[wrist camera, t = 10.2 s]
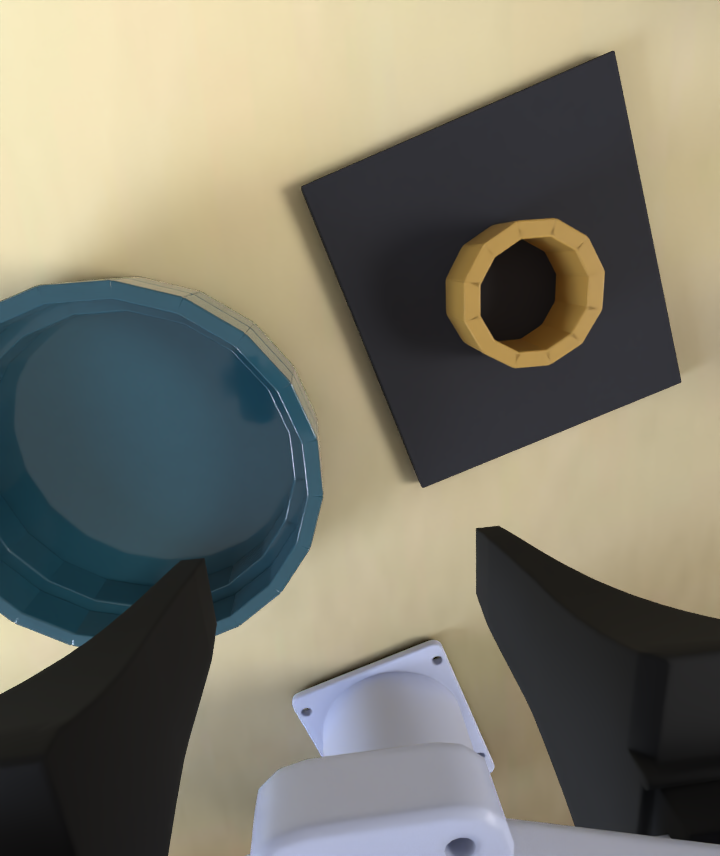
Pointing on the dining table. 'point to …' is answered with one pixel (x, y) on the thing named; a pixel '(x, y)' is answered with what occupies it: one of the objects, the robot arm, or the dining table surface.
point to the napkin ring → (573, 291)
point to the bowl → (146, 454)
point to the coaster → (499, 268)
